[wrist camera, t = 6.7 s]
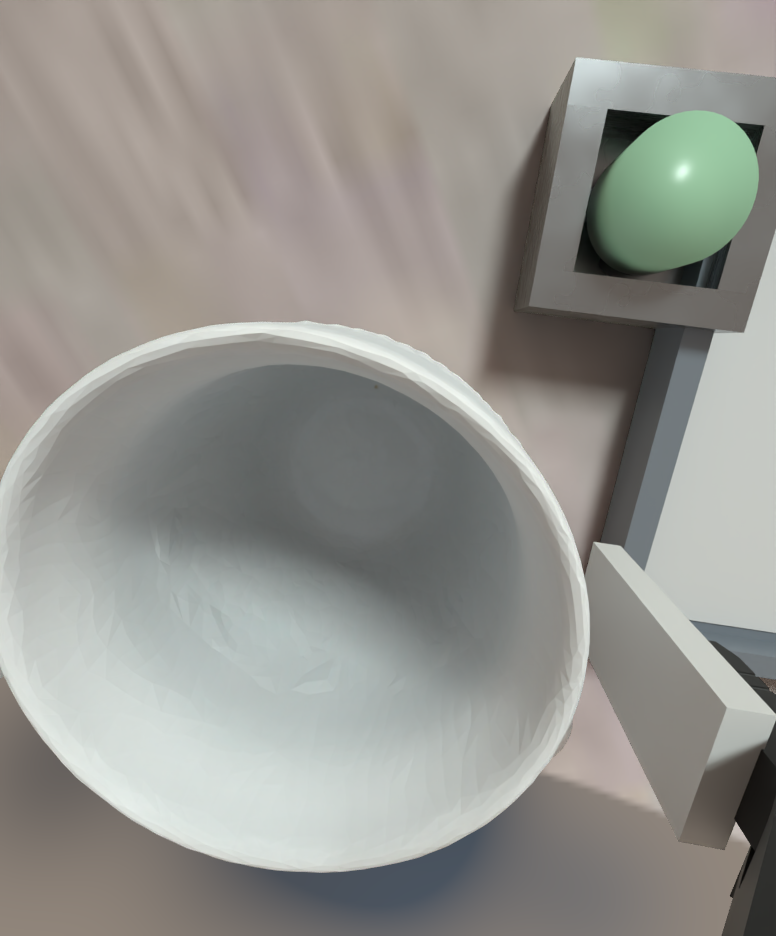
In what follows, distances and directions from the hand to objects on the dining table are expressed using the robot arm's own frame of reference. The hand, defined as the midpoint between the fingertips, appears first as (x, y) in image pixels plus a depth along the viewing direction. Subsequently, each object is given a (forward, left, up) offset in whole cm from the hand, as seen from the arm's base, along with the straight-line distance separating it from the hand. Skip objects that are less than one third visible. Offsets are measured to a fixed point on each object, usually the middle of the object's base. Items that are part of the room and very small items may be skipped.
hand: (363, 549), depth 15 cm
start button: (+8, +11, -5) cm, 15 cm away
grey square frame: (+8, +11, -7) cm, 15 cm away
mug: (0, 0, -7) cm, 7 cm away
